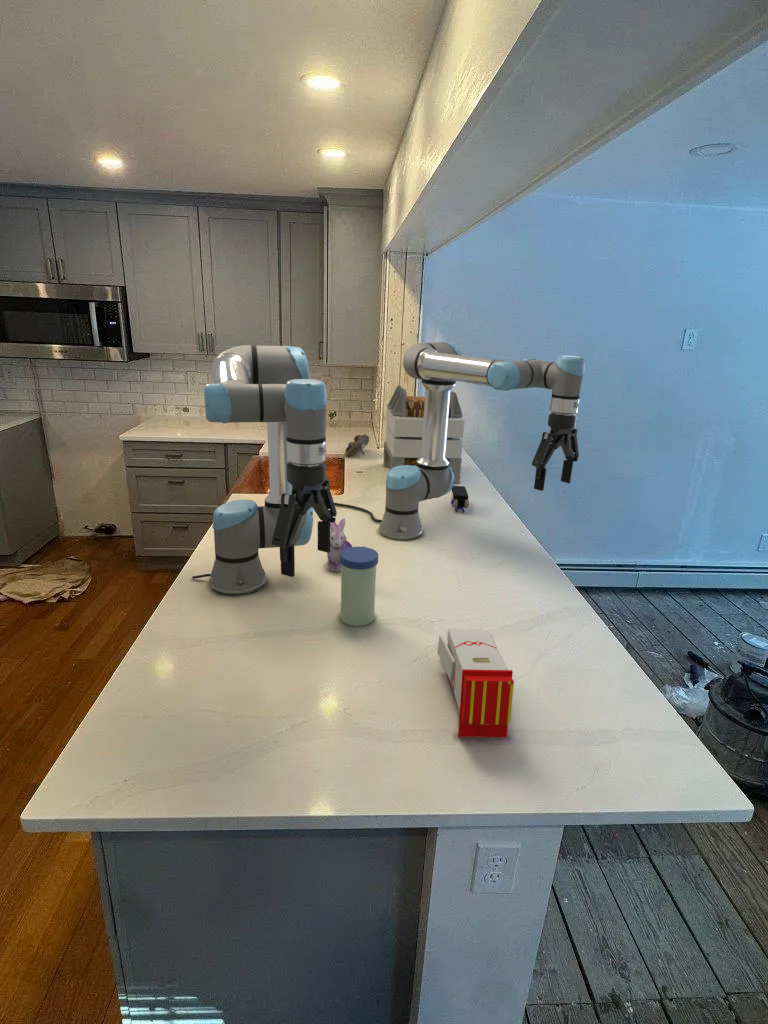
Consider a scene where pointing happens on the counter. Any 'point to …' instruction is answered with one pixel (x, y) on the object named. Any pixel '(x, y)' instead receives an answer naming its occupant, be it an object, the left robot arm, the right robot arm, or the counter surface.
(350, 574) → the jar
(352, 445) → the grey animal figure
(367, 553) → the lid
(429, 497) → the right robot arm
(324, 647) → the counter surface
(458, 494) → the figurine character
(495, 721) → the toy
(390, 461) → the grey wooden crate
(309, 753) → the counter surface
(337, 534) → the figurine
